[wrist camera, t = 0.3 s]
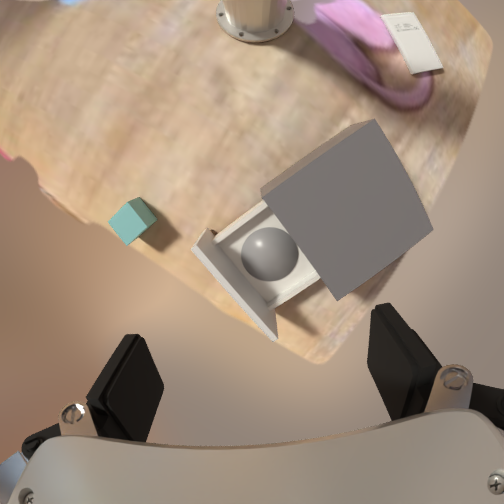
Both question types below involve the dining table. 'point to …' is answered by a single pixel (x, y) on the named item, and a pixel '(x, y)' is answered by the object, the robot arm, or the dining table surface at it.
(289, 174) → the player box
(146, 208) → the teal block
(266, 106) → the dining table surface
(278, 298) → the tray
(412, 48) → the external hard drive
